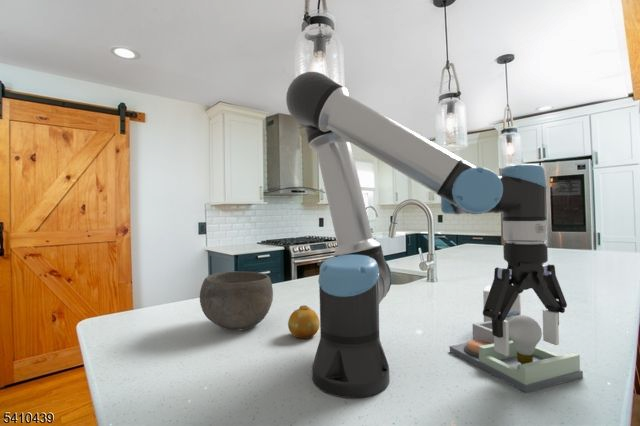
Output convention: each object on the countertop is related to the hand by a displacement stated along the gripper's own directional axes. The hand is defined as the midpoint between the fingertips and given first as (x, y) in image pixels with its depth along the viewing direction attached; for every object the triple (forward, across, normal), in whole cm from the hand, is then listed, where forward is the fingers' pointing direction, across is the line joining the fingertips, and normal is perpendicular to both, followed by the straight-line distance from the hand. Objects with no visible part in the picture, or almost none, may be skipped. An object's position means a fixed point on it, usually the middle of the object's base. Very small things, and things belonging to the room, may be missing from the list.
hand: (527, 348), depth 65 cm
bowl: (+5, -52, +51) cm, 73 cm away
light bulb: (+4, 0, 0) cm, 4 cm away
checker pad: (+3, -3, +8) cm, 10 cm away
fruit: (+5, -36, +36) cm, 51 cm away
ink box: (+5, +14, +18) cm, 23 cm away
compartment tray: (+5, 0, +4) cm, 6 cm away
